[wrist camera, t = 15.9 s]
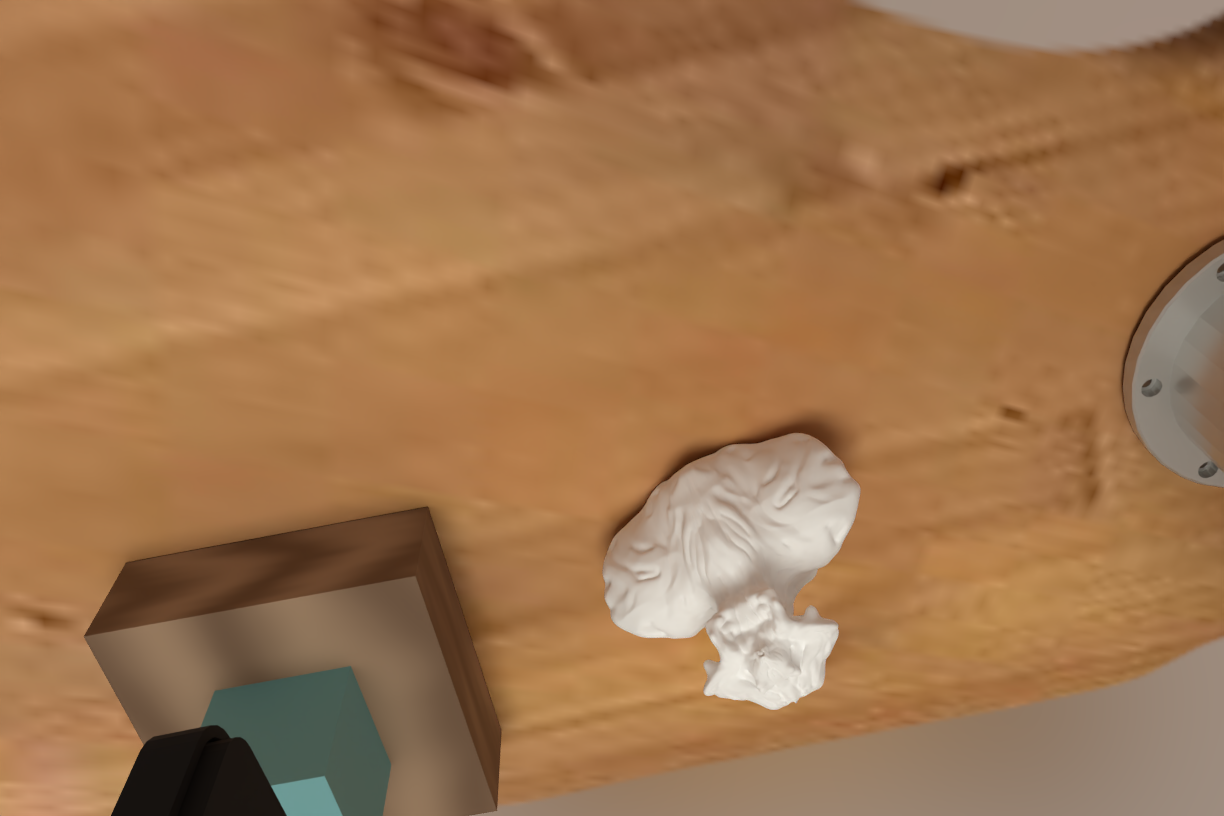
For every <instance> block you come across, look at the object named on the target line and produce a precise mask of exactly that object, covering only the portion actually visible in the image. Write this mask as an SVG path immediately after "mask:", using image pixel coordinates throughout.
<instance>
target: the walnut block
mask: <svg viewBox="0 0 1224 816" xmlns="http://www.w3.org/2000/svg"><path fill="white" fill-rule="evenodd" d="M84 638H85V640H86V641H87V643H88V645H89V647H90V649H91V650H92V652H93V654H94V656H95V658H96V659H97V661H98V663H99V665H100V667H101V668H102V670H103V672H104V674H105V676H106V677H107V679H108V681H109V683H110V685H111V687H112V688H113V690H114V692H115V694H116V696H117V697H118V699H119V701H120V703H121V705H122V706H123V708H124V710H125V712H126V714H127V715H128V717H129V719H130V721H131V723H132V724H133V726H134V728H135V730H136V732H137V733H138V735H139V737H140V739H141V741H142V742H143V744H145V743H146V742H147V741H148V740H149V739H151V738H152V737H154V736H159V735H164V734H169V733H174V732H179V731H184V730H189V729H194V728H199V727H201V725H202V722H203V720H204V717H205V714H206V712H207V709H208V707H209V704H210V702H211V699H212V696H213V694H214V691H217V690H222V689H228V688H233V687H238V686H244V685H249V684H255V683H260V682H266V681H271V680H277V679H282V678H288V677H293V676H299V675H304V674H310V673H315V672H321V671H326V670H332V669H337V668H342V667H348V666H351V668H352V670H353V673H354V675H355V677H356V680H357V682H358V685H359V687H360V690H361V692H362V694H363V697H364V699H365V702H366V704H367V707H368V709H369V711H370V714H371V716H372V719H373V721H374V724H375V726H376V728H377V731H378V733H379V736H380V738H381V741H382V743H383V746H384V748H385V750H386V753H387V755H388V758H389V760H390V763H391V770H390V776H389V782H388V788H387V794H386V799H385V805H384V811H383V816H469V815H475V814H481V813H487V812H493V811H497V801H498V783H499V765H500V747H501V729H500V725H499V722H498V719H497V716H496V713H495V710H494V707H493V704H492V701H491V698H490V695H489V692H488V689H487V686H486V683H485V680H484V677H483V674H482V671H481V668H480V664H479V661H478V658H477V655H476V652H475V649H474V646H473V643H472V640H471V637H470V634H469V631H468V628H467V625H466V622H465V619H464V616H463V613H462V610H461V606H460V603H459V600H458V597H457V594H456V591H455V588H454V585H453V582H452V579H451V576H450V573H449V570H448V567H447V564H446V561H445V558H444V555H443V552H442V549H441V545H440V542H439V539H438V536H437V533H436V530H435V527H434V524H433V521H432V518H431V515H430V512H429V509H428V507H425V508H419V509H414V510H408V511H403V512H398V513H392V514H387V515H382V516H376V517H371V518H365V519H360V520H355V521H349V522H344V523H338V524H333V525H328V526H322V527H317V528H312V529H306V530H301V531H295V532H290V533H285V534H279V535H274V536H268V537H263V538H258V539H252V540H247V541H242V542H236V543H231V544H225V545H220V546H215V547H209V548H204V549H198V550H193V551H188V552H182V553H177V554H172V555H166V556H161V557H155V558H150V559H145V560H139V561H134V562H128V563H126V564H125V566H124V567H123V569H122V571H121V573H120V574H119V576H118V578H117V580H116V581H115V583H114V585H113V587H112V588H111V590H110V592H109V594H108V595H107V597H106V599H105V601H104V602H103V604H102V606H101V607H100V609H99V611H98V613H97V614H96V616H95V618H94V620H93V621H92V623H91V625H90V627H89V628H88V630H87V632H86V634H85V635H84Z"/></svg>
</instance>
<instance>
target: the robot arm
mask: <svg viewBox="0 0 1224 816" xmlns="http://www.w3.org/2000/svg"><path fill="white" fill-rule="evenodd" d="M1123 394H1124V403H1125V411H1126V413H1127V416H1128V418H1129V421H1130V424H1131V426H1132V429H1133V431H1134V433H1135V434H1136V435H1137V437H1138V438H1139V440H1140V441H1141V442H1142V444H1143V445H1144V446H1145V448H1146V449H1147V450H1148V451H1149V452H1150V453H1151V454H1152V455H1153V456H1154V457H1155V458H1156V459H1157V460H1158V461H1159V462H1160V463H1161V464H1162V465H1163V466H1165V467H1166V468H1168V469H1170V470H1171V471H1173V472H1174V473H1176V474H1177V475H1179V476H1180V477H1183V478H1185V479H1188V480H1190V481H1193V482H1195V483H1198V484H1202V485H1208V486H1215V487H1222V488H1224V240H1222V241H1220V242H1218V243H1217V244H1215V245H1213V246H1212V247H1210V248H1209V249H1208V250H1206V251H1205V252H1204V253H1202V254H1201V255H1200V256H1198V257H1197V258H1196V259H1194V260H1193V261H1192V262H1190V263H1189V264H1188V265H1187V266H1186V267H1185V268H1184V269H1183V270H1182V271H1181V272H1180V273H1179V274H1178V275H1177V276H1176V277H1174V278H1173V279H1172V280H1171V281H1170V282H1169V283H1168V284H1167V285H1166V286H1165V288H1164V289H1163V290H1162V292H1161V293H1160V294H1159V296H1158V297H1157V298H1156V300H1155V301H1154V302H1153V304H1152V305H1151V306H1150V308H1149V309H1148V310H1147V312H1146V314H1145V316H1144V318H1143V319H1142V321H1141V323H1140V325H1139V327H1138V329H1137V331H1136V333H1135V335H1134V337H1133V340H1132V343H1131V346H1130V349H1129V352H1128V356H1127V359H1126V362H1125V370H1124V380H1123ZM111 816H287V815H286V813H285V811H284V809H283V808H282V806H281V804H280V802H279V800H278V798H277V796H276V794H275V792H274V791H273V789H272V787H271V785H270V783H269V781H268V779H267V777H266V776H265V774H264V772H263V770H262V768H261V766H260V764H259V762H258V760H257V759H256V757H255V755H254V753H253V751H252V749H251V747H250V746H249V744H248V743H247V742H246V740H244V739H243V738H241V737H234V738H230V737H229V735H228V734H227V732H226V731H225V730H224V729H223V728H221V727H220V726H218V725H209V726H204V727H199V728H194V729H189V730H184V731H179V732H174V733H169V734H164V735H159V736H154V737H152V738H151V739H149V740H148V741H147V742H146V743H145V744H144V746H143V747H142V749H141V751H140V753H139V755H138V757H137V759H136V761H135V764H134V766H133V768H132V770H131V772H130V775H129V777H128V779H127V781H126V783H125V786H124V788H123V790H122V792H121V795H120V797H119V799H118V801H117V803H116V806H115V808H114V810H113V812H112V814H111Z"/></svg>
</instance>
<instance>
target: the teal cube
mask: <svg viewBox="0 0 1224 816" xmlns="http://www.w3.org/2000/svg"><path fill="white" fill-rule="evenodd" d="M209 725H218V726H220V727H221V728H223V729H224V730H225V731H226V732H227V734H228V735H229V737H230V738H234V737H241V738H243V739H244V740H246V742H247V743H248V744H249V746H250V747H251V749H252V751H253V753H254V755H255V757H256V759H257V760H258V762H259V764H260V766H261V768H262V770H263V772H264V774H265V776H266V777H267V779H268V781H269V783H270V785H271V787H272V789H273V791H274V792H275V794H276V796H277V798H278V800H279V802H280V804H281V806H282V808H283V809H284V811H285V813H286V815H287V816H383V811H384V805H385V799H386V794H387V788H388V782H389V776H390V770H391V763H390V760H389V758H388V755H387V753H386V750H385V748H384V746H383V743H382V741H381V738H380V736H379V733H378V731H377V728H376V726H375V724H374V721H373V719H372V716H371V714H370V711H369V709H368V707H367V704H366V702H365V699H364V697H363V694H362V692H361V690H360V687H359V685H358V682H357V680H356V677H355V675H354V673H353V670H352V668H351V666H348V667H342V668H337V669H332V670H326V671H321V672H315V673H310V674H304V675H299V676H293V677H288V678H282V679H277V680H271V681H266V682H260V683H255V684H249V685H244V686H238V687H233V688H228V689H222V690H217V691H214V694H213V696H212V699H211V702H210V704H209V707H208V709H207V712H206V714H205V717H204V720H203V722H202V725H201V727H204V726H209Z"/></svg>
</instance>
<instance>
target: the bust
mask: <svg viewBox="0 0 1224 816" xmlns="http://www.w3.org/2000/svg"><path fill="white" fill-rule="evenodd" d="M859 498H860V485H859V484H858V483H857V482H856V481H855V480H854V479H853V478H852V477H851V476H850V475H849V473H848V472H847V470H846V468H845V466H844V464H843V462H842V461H841V460H840V459H839V458H838V457H837V456H835V455H834V454H833V452H832V451H831V450H830V449H829V448H828V447H827V446H826V445H824V444H823V443H822V442H821V441H819V440H818V439H816V438H814V437H812V436H810V435H807V434H803V433H791V434H788V435H785V436H781V437H778V438H773V439H770V440H767V441H764V442H761V443H756V444H733V445H728V446H725V447H723V448H721V449H720V450H718V451H717V452H716V453H714V454H711V455H708V456H705V457H702V458H700V459H697V460H695V461H693V462H691V463H689V464H687V465H685V466H684V467H683V468H681V469H680V470H679V471H678V472H676V473H675V474H674V475H673V476H672V477H671V478H670V479H669V480H667V481H664V482H662V483H661V484H659V485H658V486H657V487H656V488H655V490H654V491H653V492H652V493H651V495H650V497H649V498H648V500H647V502H646V504H645V506H644V507H643V509H642V510H641V511H640V512H639V513H638V514H637V515H636V516H635V517H634V518H633V519H632V520H631V521H630V522H629V523H628V524H627V525H626V526H625V527H623V528H622V529H621V530H620V531H619V532H618V533H617V534H616V535H615V536H614V538H613V540H612V542H611V544H610V546H609V548H608V551H607V554H606V556H605V559H604V564H603V578H604V581H605V595H604V596H605V601H606V603H607V605H608V607H609V608H610V611H611V618H612V621H613V622H614V623H615V624H616V625H617V626H618V627H620V628H622V629H623V630H625V631H627V632H630V633H632V634H634V635H637V636H640V637H646V638H675V639H676V638H689V637H693V636H695V635H696V634H697V633H698V632H699V631H700V630H701V629H703V628H704V627H706V631H707V633H708V635H709V638H710V640H711V641H712V643H713V644H714V645H715V647H716V648H717V650H718V652H719V654H720V661H719V662H714V661H712V660H706V661H705V662H704V668H705V670H706V672H707V675H708V678H707V681H706V683H705V685H704V690H703V691H704V694H705V695H707V696H711V695H714V694H715V695H716V696H718V697H721V698H730V699H733V700H749V701H752V702H755V703H757V704H759V705H761V706H763V707H765V708H768V709H771V710H777V709H780V708H781V707H783V706H786V705H788V704H789V703H791V702H795V703H797V701H798V699H799V698H800V697H802V696H806V695H808V694H809V693H811V692H813V691H815V690H817V689H819V688H820V687H821V686H822V685H823V682H824V677H825V662H826V658H827V657H828V656H829V655H830V653H831V651H832V649H833V646H834V644H835V642H836V640H837V638H838V634H839V631H838V624H837V622H835V621H834V620H831V619H825V618H822V617H821V616H820V615H819V614H818V612H817V609H816V608H815V607H814V606H812V605H811V606H809V607H807V608H806V611H805V614H804V615H801V616H793V614H794V608H793V603H794V600H795V597H796V595H797V594H798V593H799V591H800V590H801V588H802V587H803V586H804V585H806V584H807V583H808V582H810V581H811V580H812V579H813V578H814V577H815V576H816V574H817V570H818V568H821V567H824V566H825V565H827V564H828V563H829V562H830V561H831V559H832V558H833V557H834V556H835V555H836V554H837V553H838V551H839V550H840V548H841V545H842V543H843V541H844V539H845V537H846V535H847V534H848V532H849V530H850V528H851V526H852V524H853V522H854V519H855V516H856V512H857V507H858V502H859Z"/></svg>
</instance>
